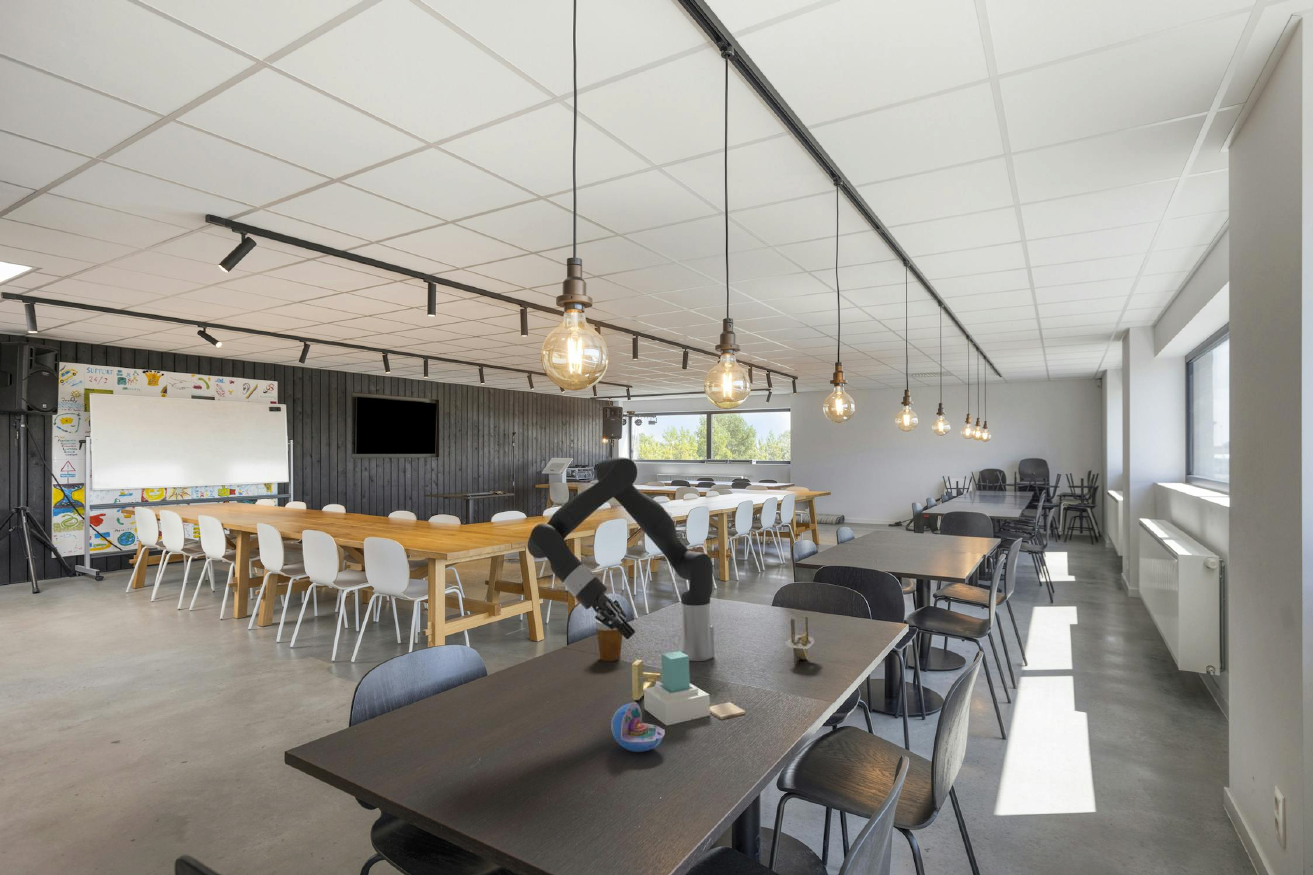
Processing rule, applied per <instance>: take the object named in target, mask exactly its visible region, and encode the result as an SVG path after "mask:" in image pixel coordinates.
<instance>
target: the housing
mask: <svg viewBox="0 0 1313 875" xmlns="http://www.w3.org/2000/svg"><path fill="white" fill-rule="evenodd" d="M643 696H644V697H643V698H644V699H643V700H644V705H643V706H644V710H645V711H647V713H650V714H651V715H652V716H653V717H655V718H656V719H657V720H659V721H660V722H661V723H662V724H664V725H665V726H670V725H675V724H679V723H683V722H688V721H692V719H693V720H696V719H700V718H701V719H702V718H704V717H709V716H711V713H710V705H711V702H710V694H709V693H707V692H706V691H704V690H702V689H700V688H699V687H697V686H696V685H694V684H692V683H690V689H688V690H683V691H678V692H674V693H670V692H668V691H667V690H665V689H664V688H663V684H657V685H655V687H650V688H645V689H644V695H643Z"/></svg>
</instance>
